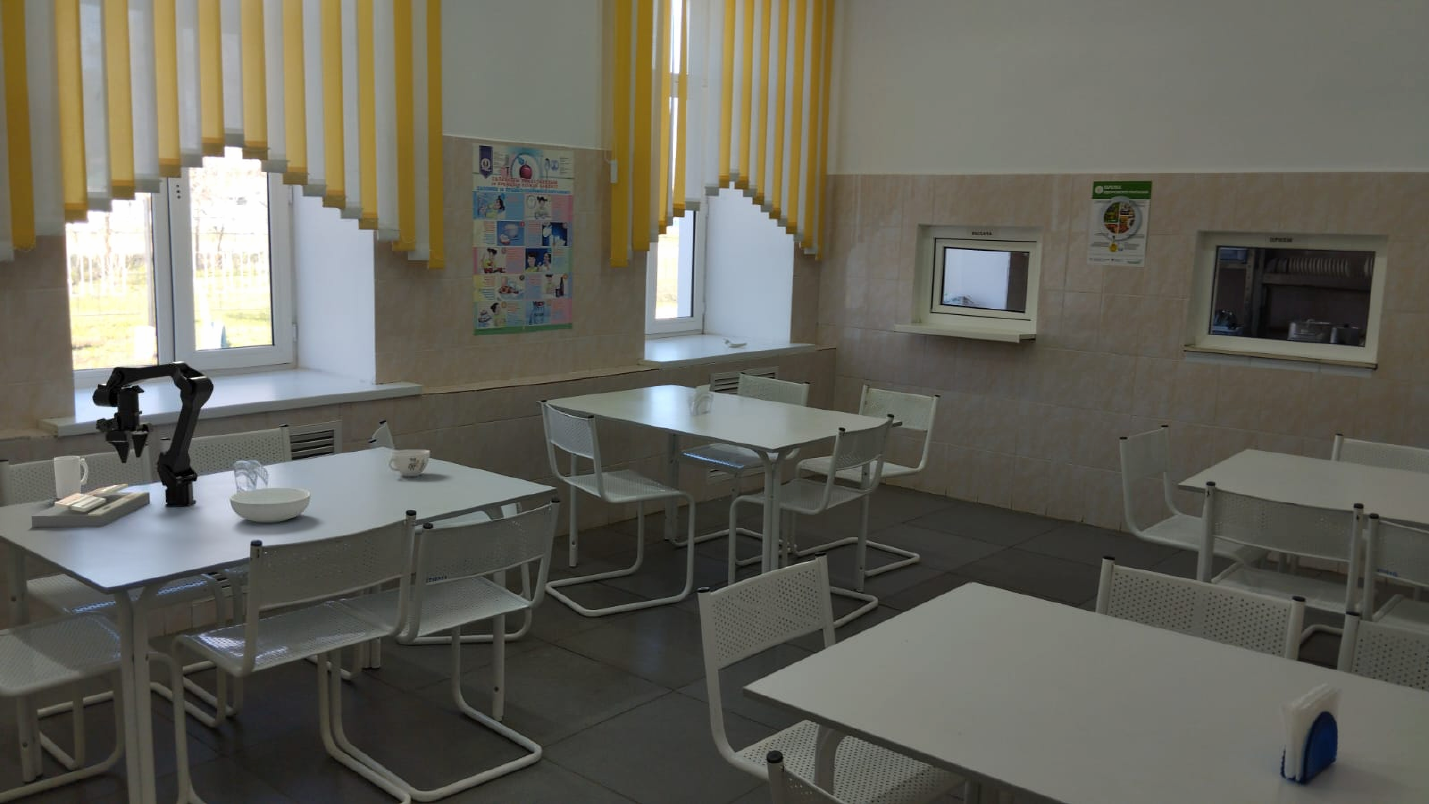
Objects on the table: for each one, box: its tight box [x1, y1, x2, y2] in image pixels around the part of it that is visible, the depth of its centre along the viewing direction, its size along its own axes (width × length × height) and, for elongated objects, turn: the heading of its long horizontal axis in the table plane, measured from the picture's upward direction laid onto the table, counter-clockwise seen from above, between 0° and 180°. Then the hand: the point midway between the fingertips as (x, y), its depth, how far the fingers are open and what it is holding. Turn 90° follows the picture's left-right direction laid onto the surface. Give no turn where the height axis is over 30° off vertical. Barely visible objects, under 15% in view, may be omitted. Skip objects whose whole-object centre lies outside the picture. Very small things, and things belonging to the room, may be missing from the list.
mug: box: [53, 455, 89, 500], centre depth 338 cm, size 10×7×12 cm, turn 156°
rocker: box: [53, 493, 106, 512], centre depth 308 cm, size 8×12×1 cm, turn 4°
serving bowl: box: [229, 487, 311, 524], centre depth 312 cm, size 21×21×7 cm
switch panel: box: [31, 491, 151, 528], centre depth 316 cm, size 18×30×4 cm, turn 4°
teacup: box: [388, 449, 431, 478], centre depth 375 cm, size 15×12×8 cm
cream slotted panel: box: [85, 483, 129, 497], centre depth 322 cm, size 8×12×1 cm, turn 4°
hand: (131, 460), depth 332 cm, fingers open, 9 cm apart
